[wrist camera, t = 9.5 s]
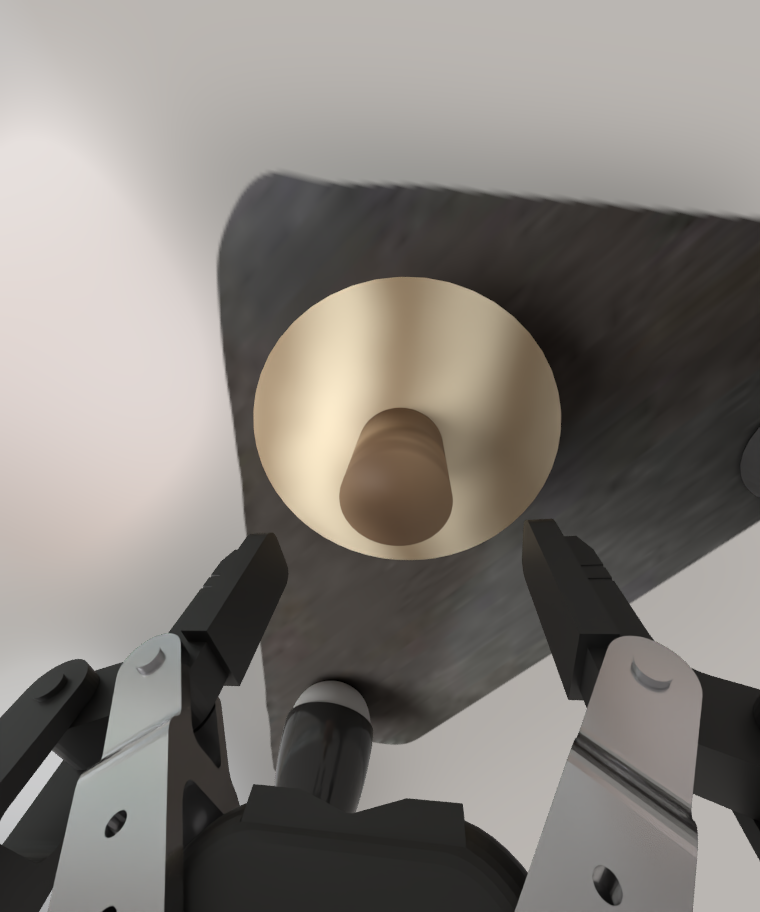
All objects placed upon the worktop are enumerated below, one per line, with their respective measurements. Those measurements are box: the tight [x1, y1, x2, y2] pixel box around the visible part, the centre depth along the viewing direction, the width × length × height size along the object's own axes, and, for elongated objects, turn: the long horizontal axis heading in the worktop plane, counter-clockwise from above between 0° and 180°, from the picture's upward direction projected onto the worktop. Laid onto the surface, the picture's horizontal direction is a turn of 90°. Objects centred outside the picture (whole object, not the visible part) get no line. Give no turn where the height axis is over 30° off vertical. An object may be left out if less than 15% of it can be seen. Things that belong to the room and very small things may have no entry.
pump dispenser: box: [274, 681, 373, 813], centre depth 34 cm, size 10×10×15 cm
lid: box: [254, 277, 561, 560], centre depth 16 cm, size 16×16×6 cm
